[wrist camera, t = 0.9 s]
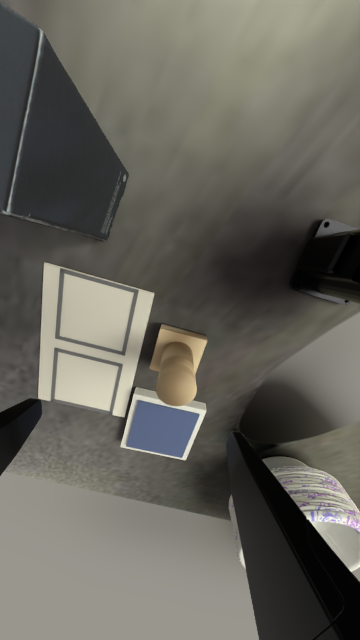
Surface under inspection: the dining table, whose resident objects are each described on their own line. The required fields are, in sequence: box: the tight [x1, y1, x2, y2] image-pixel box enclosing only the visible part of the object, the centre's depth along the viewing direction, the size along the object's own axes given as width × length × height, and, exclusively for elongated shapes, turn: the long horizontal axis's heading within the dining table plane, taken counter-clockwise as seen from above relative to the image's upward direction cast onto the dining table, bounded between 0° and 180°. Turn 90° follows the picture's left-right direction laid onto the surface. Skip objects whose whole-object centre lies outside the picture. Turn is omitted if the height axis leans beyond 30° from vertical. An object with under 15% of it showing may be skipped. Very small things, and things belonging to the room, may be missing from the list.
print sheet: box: [38, 262, 155, 417], centre depth 21 cm, size 11×17×1 cm, turn 164°
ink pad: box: [121, 387, 207, 460], centre depth 24 cm, size 9×9×2 cm
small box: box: [0, 2, 128, 241], centre depth 11 cm, size 11×6×10 cm, turn 63°
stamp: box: [150, 323, 207, 406], centre depth 18 cm, size 5×5×7 cm
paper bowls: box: [229, 456, 360, 572], centre depth 24 cm, size 15×15×8 cm
